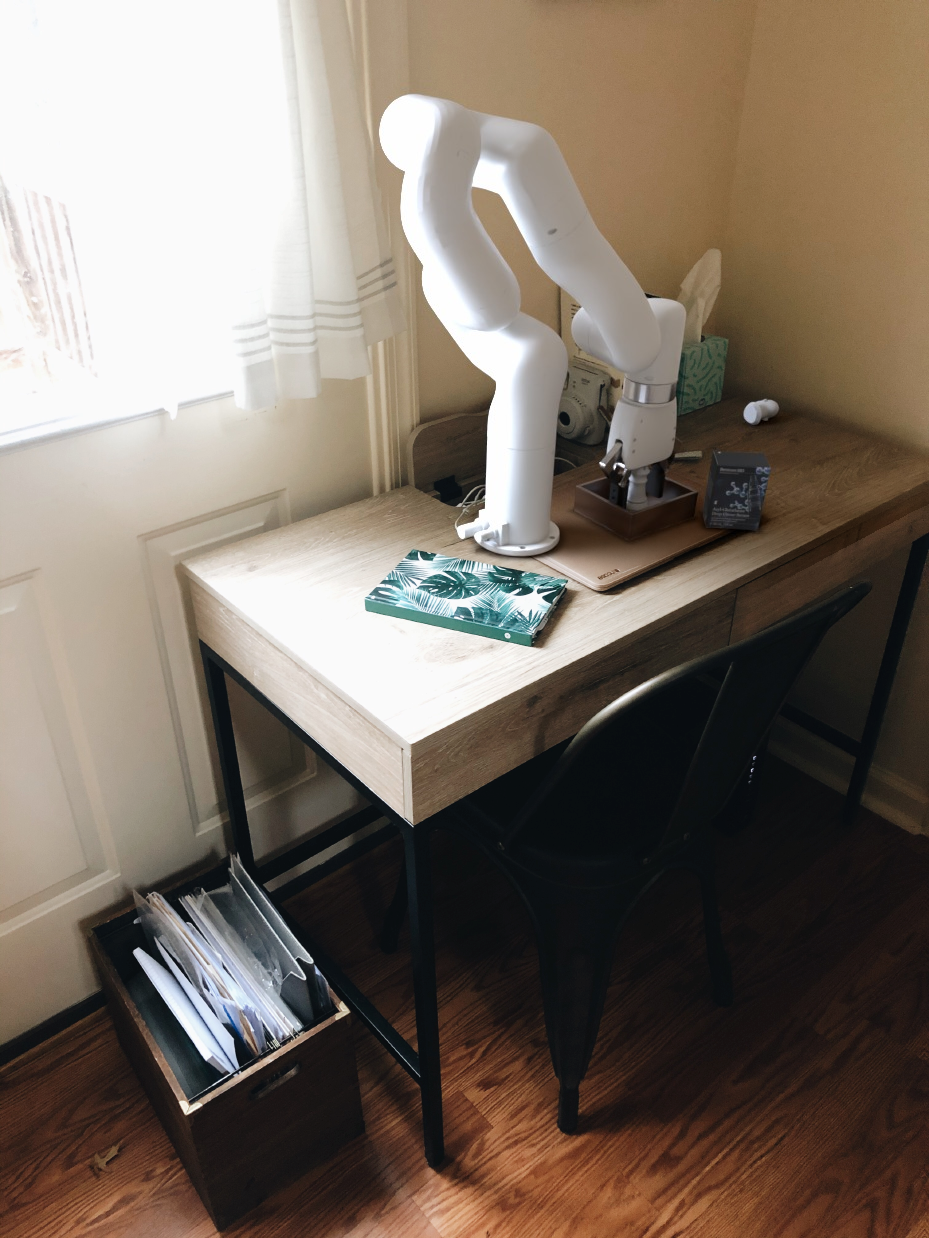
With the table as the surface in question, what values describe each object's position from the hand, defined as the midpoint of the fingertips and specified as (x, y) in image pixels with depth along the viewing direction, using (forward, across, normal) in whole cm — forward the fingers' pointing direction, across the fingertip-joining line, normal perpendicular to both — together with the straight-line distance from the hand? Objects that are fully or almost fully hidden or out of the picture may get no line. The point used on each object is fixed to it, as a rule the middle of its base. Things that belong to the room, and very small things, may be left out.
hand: (635, 500), depth 147 cm
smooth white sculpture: (+3, -49, -16) cm, 52 cm away
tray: (+2, 0, 0) cm, 2 cm away
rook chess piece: (+2, 0, 0) cm, 2 cm away
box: (+3, -10, +10) cm, 15 cm away
